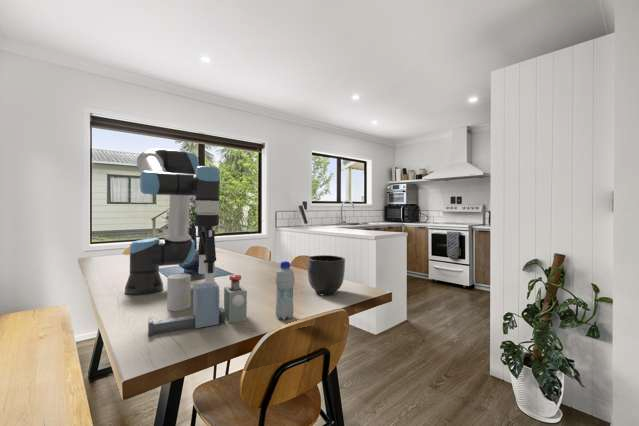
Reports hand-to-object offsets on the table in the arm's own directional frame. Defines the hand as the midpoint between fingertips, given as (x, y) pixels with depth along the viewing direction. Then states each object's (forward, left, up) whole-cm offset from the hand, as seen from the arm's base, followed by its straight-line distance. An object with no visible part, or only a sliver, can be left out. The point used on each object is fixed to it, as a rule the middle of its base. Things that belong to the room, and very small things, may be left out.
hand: (206, 278), depth 102 cm
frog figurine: (-35, +6, -15) cm, 38 cm away
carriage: (0, 0, -15) cm, 15 cm away
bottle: (+6, +26, -15) cm, 31 cm away
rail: (0, -5, -15) cm, 16 cm away
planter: (-15, +55, -15) cm, 59 cm away
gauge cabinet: (-2, +10, -15) cm, 18 cm away
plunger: (-2, +10, -9) cm, 13 cm away
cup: (-22, -6, -16) cm, 27 cm away
